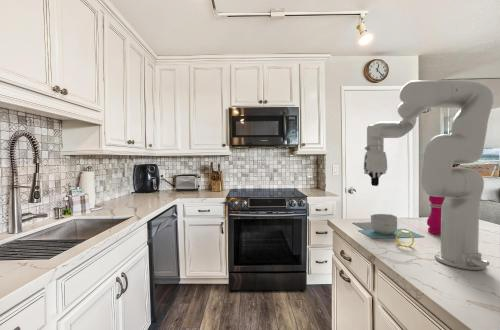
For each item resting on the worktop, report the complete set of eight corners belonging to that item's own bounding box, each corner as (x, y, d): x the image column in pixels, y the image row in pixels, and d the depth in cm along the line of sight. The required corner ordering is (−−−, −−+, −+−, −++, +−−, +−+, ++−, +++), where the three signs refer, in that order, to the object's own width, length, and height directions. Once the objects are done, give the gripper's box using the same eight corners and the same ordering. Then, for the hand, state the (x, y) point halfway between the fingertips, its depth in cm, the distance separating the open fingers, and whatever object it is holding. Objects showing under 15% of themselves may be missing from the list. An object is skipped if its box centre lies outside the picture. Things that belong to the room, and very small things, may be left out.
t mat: (424, 237, 107) (424, 236, 107) (372, 238, 105) (372, 238, 105) (388, 222, 132) (388, 221, 132) (345, 223, 130) (345, 223, 130)
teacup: (386, 237, 106) (386, 219, 106) (365, 231, 116) (365, 214, 116) (407, 233, 112) (407, 216, 112) (385, 227, 122) (385, 211, 121)
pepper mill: (439, 230, 116) (440, 188, 116) (450, 235, 109) (451, 190, 109) (423, 230, 117) (423, 188, 117) (433, 235, 110) (433, 190, 109)
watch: (413, 247, 97) (415, 232, 96) (412, 249, 94) (414, 234, 94) (395, 242, 100) (397, 228, 100) (394, 244, 98) (396, 230, 98)
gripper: (364, 149, 119) (364, 186, 119) (394, 148, 120) (393, 186, 121) (357, 149, 126) (356, 185, 127) (384, 149, 128) (384, 184, 128)
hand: (374, 185), depth 124 cm, fingers closed
